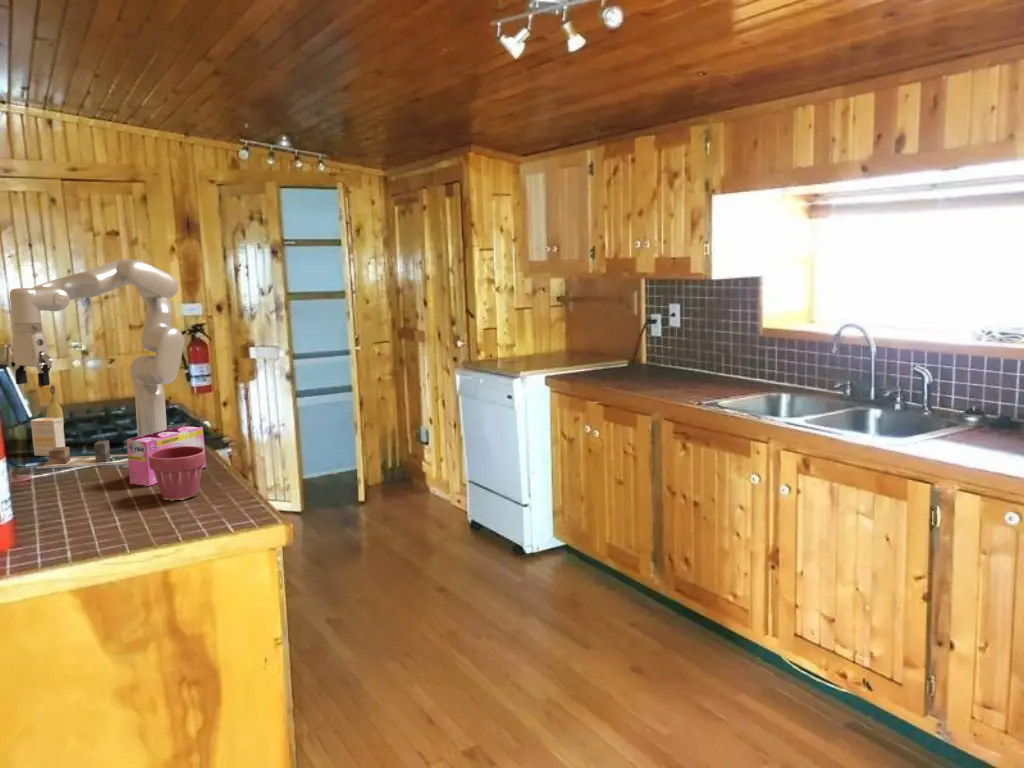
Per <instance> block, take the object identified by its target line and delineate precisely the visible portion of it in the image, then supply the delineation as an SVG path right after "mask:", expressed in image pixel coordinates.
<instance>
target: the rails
mask: <svg viewBox="0 0 1024 768" xmlns="http://www.w3.org/2000/svg"><path fill="white" fill-rule="evenodd" d="M110 457H112V458H115V457H117V458H118V457H128V453H126V454H123V453H122V454H110ZM78 458H95V455H82V456H70V459H78ZM47 460H49V458H48V459H47ZM49 461H50V460H49ZM113 465H116V466H117V465H121V466H120V468H119V469H123V468H124V469H126V468H127V469H129V464H128V461H120V462H106V463H98V464H77V465H56V466H43V465H41V466H40V465H39V466H36V467H35V469H53V468H72V467H73V468H75V467H92V466H93V467H94V466H113Z"/></svg>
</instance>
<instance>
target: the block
mask: <svg viewBox="0 0 1024 768" xmlns="http://www.w3.org/2000/svg"><path fill="white" fill-rule="evenodd" d="M48 457H49V461H50V465H56V464H66V463H68V462H69V461H70V457H71V455H70V447H69V446H65V447H54V448H52V449H51V450H49V456H48Z"/></svg>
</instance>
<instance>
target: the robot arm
mask: <svg viewBox="0 0 1024 768" xmlns="http://www.w3.org/2000/svg"><path fill="white" fill-rule="evenodd" d="M128 285H129V286H134V288H135V290H136V292H137V294H138V295H139V296H140V297H141V299H142V300H143V302H144V304H145V311H146V312H145V318H144V322H143V325H142V326H143V327H142V331H141V336H140V345H141V347H142V348H143V349H144V350H146V351H147V352H151V353H155V355H147V354H146V355H139V356H137V357H135V358H134V359H133V361H132V362H131V364H130V367H129V372H130V378H131V381H132V385H133V391H134V401H135V416H136V429H137V437H139V436H143V435H147V434H151V433H155V432H159V431H163V430H166V429H168V425H167V424H168V423H167V413H166V412H167V411H166V409H167V408H166V395H165V390H164V385H165V386H166V385H169V384H171V383H173V382H174V381H175V380H176V379H177V376H178V373H179V370H180V366H181V362H182V357H183V352H184V348H185V347H184V346H185V340H184V339H185V338H184V336H183V333H182V332H181V331H180V329H178V328H177V327H174V326H172V319H173V306H172V303H171V300H170V299H172V298H173V297H174V296H176V294H177V293H178V290H179V284H178V281H177V280H176V278H175V277H174V276H172V274H170V273H168V272H166V271H163V270H162V269H160V268H157V267H155V266H153V265H151V264H150V263H147V262H145V261H142V260H139V259H130V258H129V259H128V258H127V259H125V258H124V259H117V260H114V261H111V262H107V263H105V264H102V265H101V266H100V265H99V266H97V267H93V268H91V269H88V270H84V271H81V272H78V273H74V274H70V275H67V276H64V277H59V278H55V279H53V280H49V281H47V282H43V283H40V284H38V285H35V286H34V287H23V288H22V287H19V288H12V289H11V290H10V291H9V301H10V303H9V304H10V311H11V323H12V330H13V331H12V333H13V336H12V354H10V355H9V356H8V359H9V362H10V365H11V366H12V368H13V369H12V370H13V371H14V374H15V384H16V385H23V384H24V385H25V384H27V383H28V378H27V371H26V370H27V369H25V368H26V367H30V368H33V367H34V368H36V370H37V371H38V373H37V380H38V386H39V387H45V386H49V385H50V384H51V382H50V372H51V369H52V365H53V358H52V357H51V356H50V354H49V348H48V344H47V340H46V337H45V333H43V325H42V317H41V316H42V315H41V312H42V311H43V312H44V311H45V312H46V311H47V312H61V311H63V310H65V309H66V308H67V307H68V306H69V305H70V302H71V300H77V299H87V298H94V297H99V296H101V295H104V294H106V293H108V292H111V291H114V290H117V289H119V288H122V287H125V286H128Z"/></svg>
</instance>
